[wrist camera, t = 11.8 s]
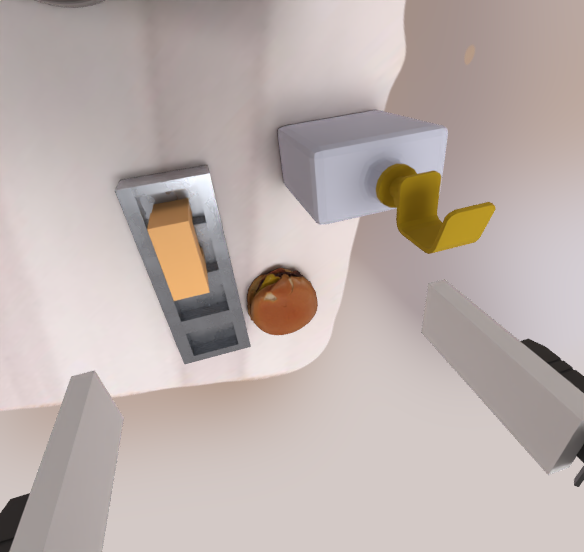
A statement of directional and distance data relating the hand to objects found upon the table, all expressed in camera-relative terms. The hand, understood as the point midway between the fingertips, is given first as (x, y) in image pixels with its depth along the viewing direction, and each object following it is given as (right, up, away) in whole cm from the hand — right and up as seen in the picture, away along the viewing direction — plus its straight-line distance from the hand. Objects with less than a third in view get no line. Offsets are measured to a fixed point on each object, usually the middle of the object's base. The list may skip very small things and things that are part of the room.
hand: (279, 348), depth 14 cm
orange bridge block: (-12, +8, +25) cm, 28 cm away
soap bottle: (+5, +18, +26) cm, 32 cm away
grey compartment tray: (-12, +4, +29) cm, 31 cm away
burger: (-2, 0, +35) cm, 35 cm away
